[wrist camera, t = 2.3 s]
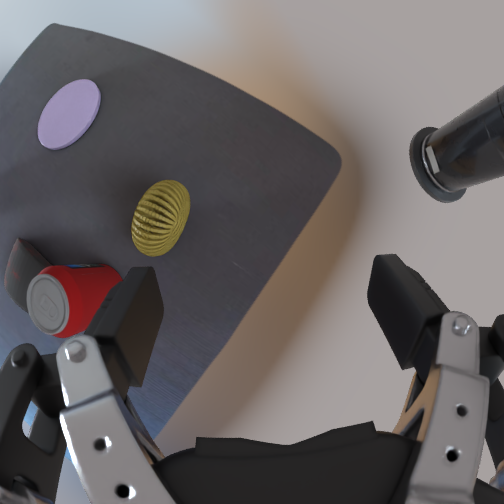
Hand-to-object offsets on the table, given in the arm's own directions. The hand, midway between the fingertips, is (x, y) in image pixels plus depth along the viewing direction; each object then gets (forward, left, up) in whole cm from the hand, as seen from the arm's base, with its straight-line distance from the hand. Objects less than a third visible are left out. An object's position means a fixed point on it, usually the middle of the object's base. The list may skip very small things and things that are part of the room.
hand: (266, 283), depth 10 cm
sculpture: (+4, -9, -21) cm, 24 cm away
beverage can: (+16, -8, -21) cm, 28 cm away
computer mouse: (+25, -16, -21) cm, 37 cm away
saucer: (+8, -34, -21) cm, 41 cm away
